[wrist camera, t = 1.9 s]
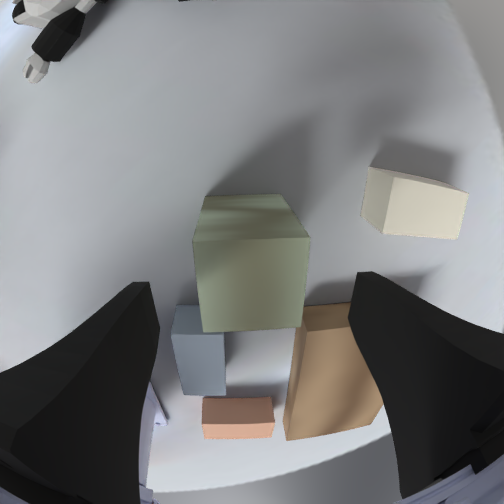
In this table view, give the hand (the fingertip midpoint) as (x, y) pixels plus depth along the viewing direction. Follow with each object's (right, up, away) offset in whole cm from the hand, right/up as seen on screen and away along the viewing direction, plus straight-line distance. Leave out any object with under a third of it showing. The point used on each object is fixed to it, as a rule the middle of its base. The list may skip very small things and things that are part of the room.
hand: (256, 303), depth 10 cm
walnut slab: (+7, -9, +12) cm, 17 cm away
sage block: (-1, +3, +6) cm, 7 cm away
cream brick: (+9, +5, +6) cm, 12 cm away
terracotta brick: (-2, -12, +14) cm, 19 cm away
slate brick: (-4, -4, +10) cm, 11 cm away
